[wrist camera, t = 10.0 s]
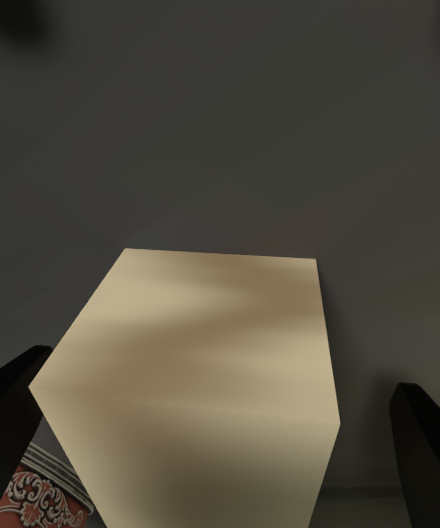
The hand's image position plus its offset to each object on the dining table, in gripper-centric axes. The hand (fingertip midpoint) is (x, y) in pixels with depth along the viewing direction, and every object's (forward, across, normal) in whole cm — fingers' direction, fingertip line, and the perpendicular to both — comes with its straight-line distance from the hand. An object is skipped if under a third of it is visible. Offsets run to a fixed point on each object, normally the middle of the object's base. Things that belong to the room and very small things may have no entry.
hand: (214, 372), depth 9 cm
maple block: (+2, 0, +1) cm, 2 cm away
